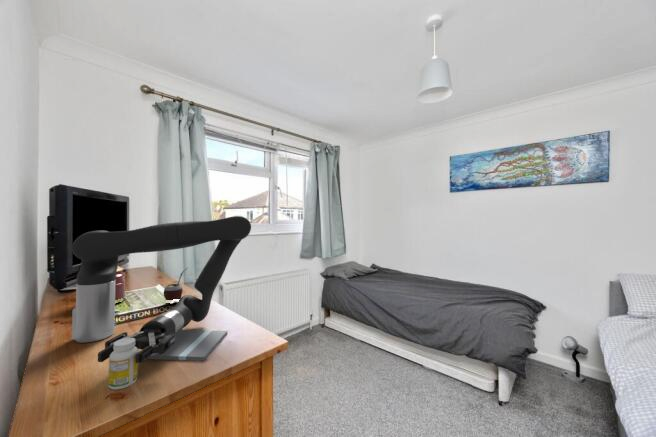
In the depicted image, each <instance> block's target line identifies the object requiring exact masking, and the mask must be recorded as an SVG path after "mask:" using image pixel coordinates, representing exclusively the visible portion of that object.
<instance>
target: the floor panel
mask: <svg viewBox="0 0 656 437" xmlns="http://www.w3.org/2000/svg"><path fill="white" fill-rule="evenodd" d="M227 335H228V330H211V329H210V330H209V329H208V330H205V329H182V330H180V331H179V332H178V333H177V334H176V335H175V342H174V344H173V345H172V346H171V347H170V348H169V349H168V350H167V351H166V352H165V353H163V354H159V353H155V355H152V356H149V357H148V358H147V359H146V360H168V361H169V360H173V361H175V360H176V361H177V360H178V361H202V362H203V361H205V360H206V359H207V358H208V357H209V356H210V355H211V354H212V353H213V351H214V350H215V349H216V347H217V346H218V345H219V344H220V343H221V341H222V340H223V339H224V338H225V337H227Z"/></svg>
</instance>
